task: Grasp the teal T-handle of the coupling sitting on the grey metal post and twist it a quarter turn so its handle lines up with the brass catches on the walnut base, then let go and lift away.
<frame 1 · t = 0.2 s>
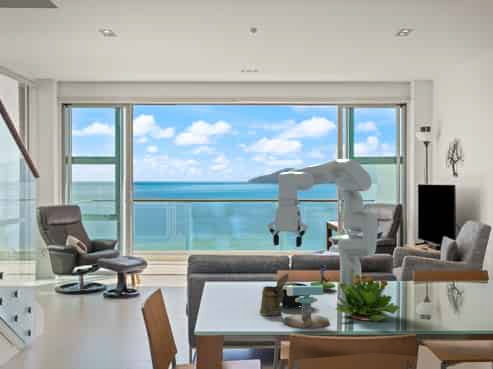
hand: (287, 245, 242), 30 cm above the table, tool pointing down, fingers open, 9 cm apart
potted flower: (361, 318, 248), on the table
bowl: (292, 306, 270), on the table
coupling: (305, 294, 239), point 11 cm above the table, hinge at 0.0°
wooden mug: (274, 315, 254), on the table
base plate: (306, 322, 239), on the table
figurine: (322, 290, 308), on the table
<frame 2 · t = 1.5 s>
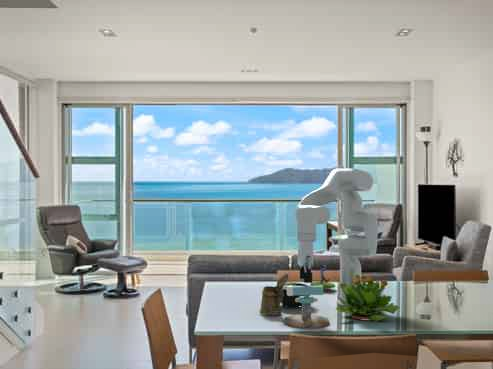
hand: (305, 280, 239), 17 cm above the table, tool pointing down, fingers open, 9 cm apart
nothing on the table moved.
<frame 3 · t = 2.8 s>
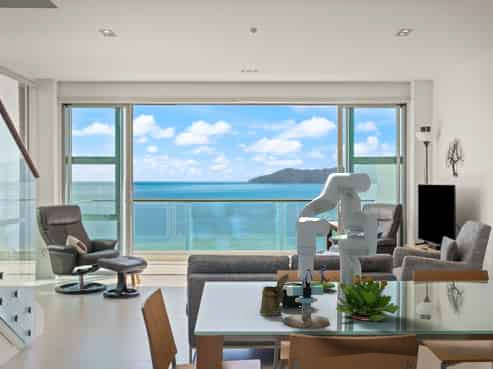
hand: (306, 296, 239), 11 cm above the table, tool pointing down, fingers closed on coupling, 2 cm apart
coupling: (305, 294, 239), point 11 cm above the table, hinge at 0.0°, touching gripper
everything else where it was.
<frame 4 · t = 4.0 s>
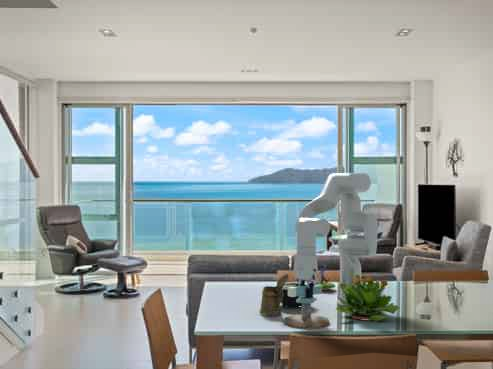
hand: (306, 296, 239), 11 cm above the table, tool pointing down, fingers closed on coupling, 3 cm apart
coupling: (305, 294, 239), point 11 cm above the table, hinge at 20.9°, touching gripper
everything else where it was.
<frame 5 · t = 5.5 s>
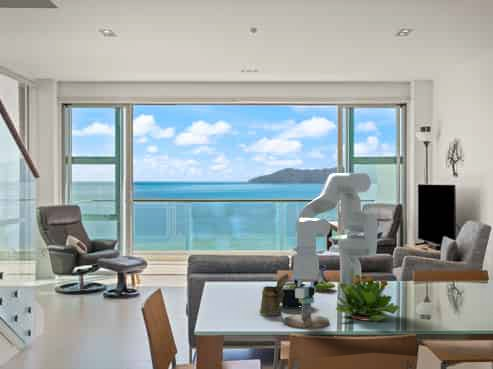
hand: (306, 296, 239), 11 cm above the table, tool pointing down, fingers closed on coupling, 3 cm apart
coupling: (305, 294, 239), point 11 cm above the table, hinge at 57.6°, touching gripper
everything else where it was.
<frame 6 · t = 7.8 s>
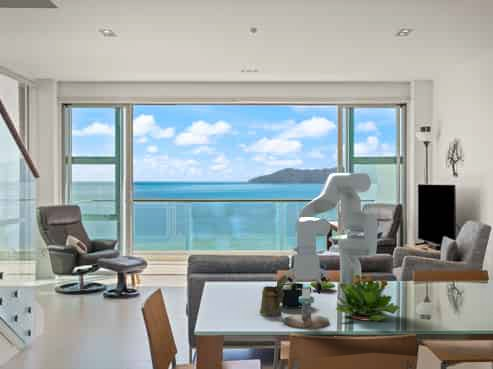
hand: (306, 293, 239), 12 cm above the table, tool pointing down, fingers open, 9 cm apart
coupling: (306, 294, 239), point 11 cm above the table, hinge at 79.6°
everything else where it was.
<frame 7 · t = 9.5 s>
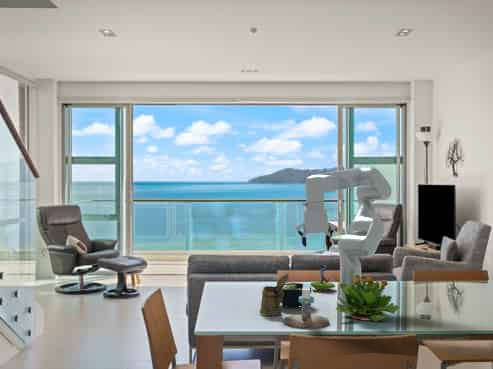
hand: (316, 245, 255), 29 cm above the table, tool pointing down, fingers open, 9 cm apart
nothing on the table moved.
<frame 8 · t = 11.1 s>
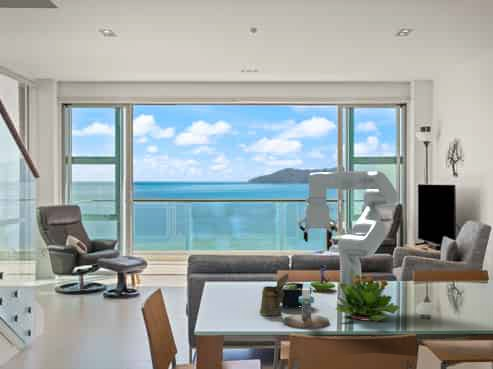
hand: (317, 241, 259), 30 cm above the table, tool pointing down, fingers open, 9 cm apart
nothing on the table moved.
at the end: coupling at +80° (first picture: +0°); the gripper is holding nothing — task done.
